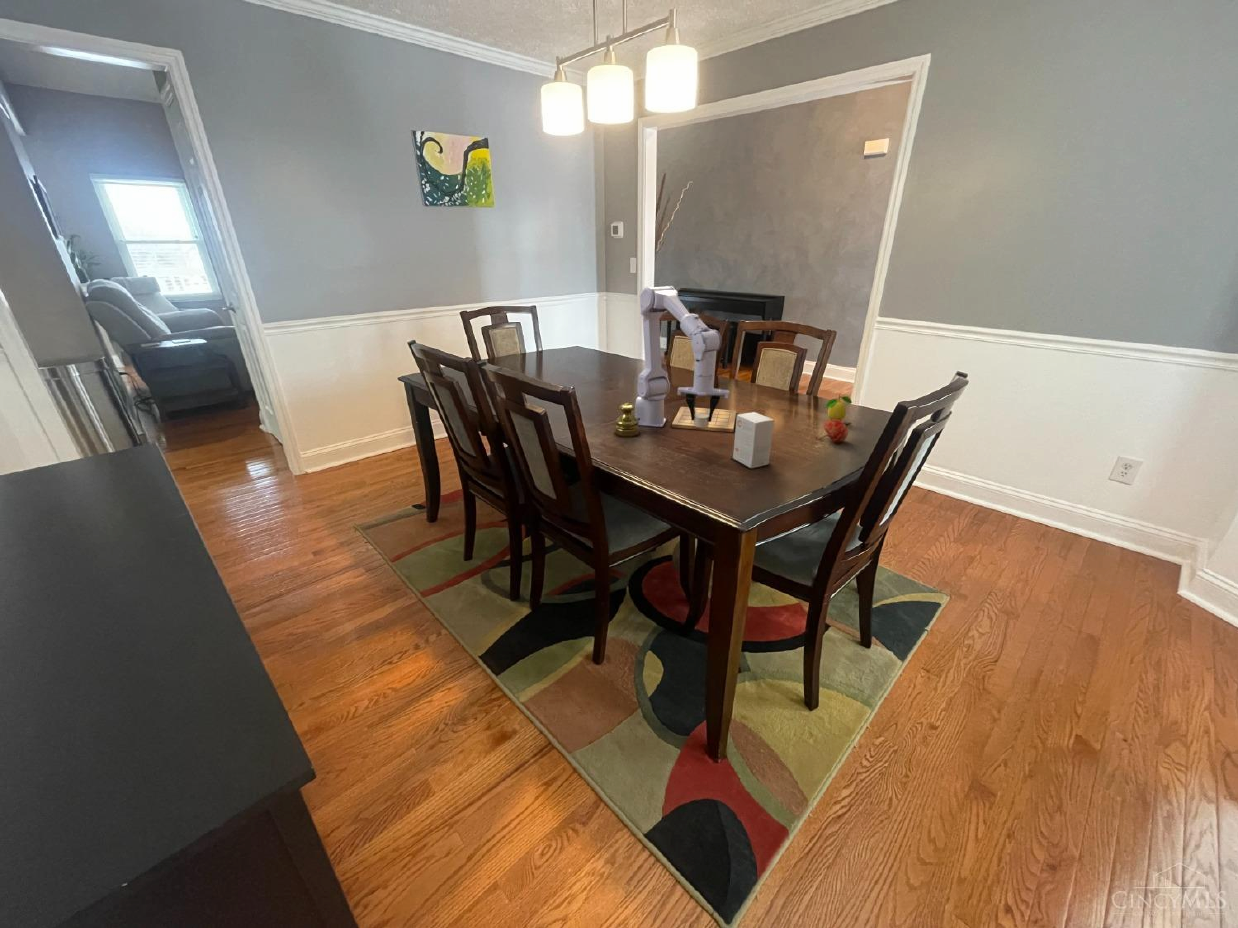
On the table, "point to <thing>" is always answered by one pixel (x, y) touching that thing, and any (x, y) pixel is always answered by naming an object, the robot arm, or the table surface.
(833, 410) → the yellow pear
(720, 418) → the board
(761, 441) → the small box
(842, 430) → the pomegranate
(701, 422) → the white short cylinder
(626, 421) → the gold chess pawn
